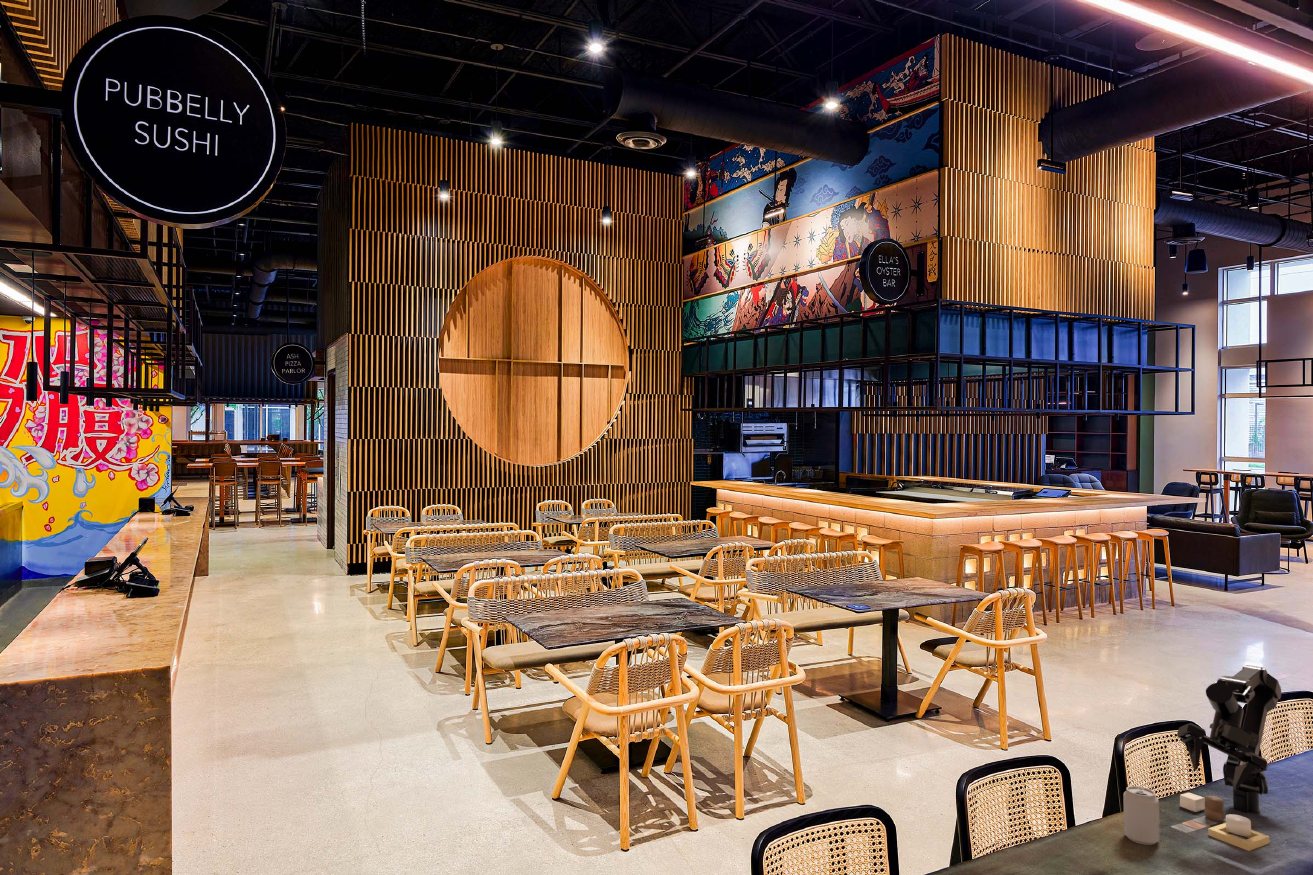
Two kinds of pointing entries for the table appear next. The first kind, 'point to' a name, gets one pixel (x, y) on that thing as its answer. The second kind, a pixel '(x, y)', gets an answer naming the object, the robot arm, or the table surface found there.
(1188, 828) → the makeup compact
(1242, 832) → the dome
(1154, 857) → the table surface
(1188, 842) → the table surface
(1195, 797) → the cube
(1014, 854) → the table surface
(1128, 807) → the can
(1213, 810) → the brown capsule
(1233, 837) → the box
